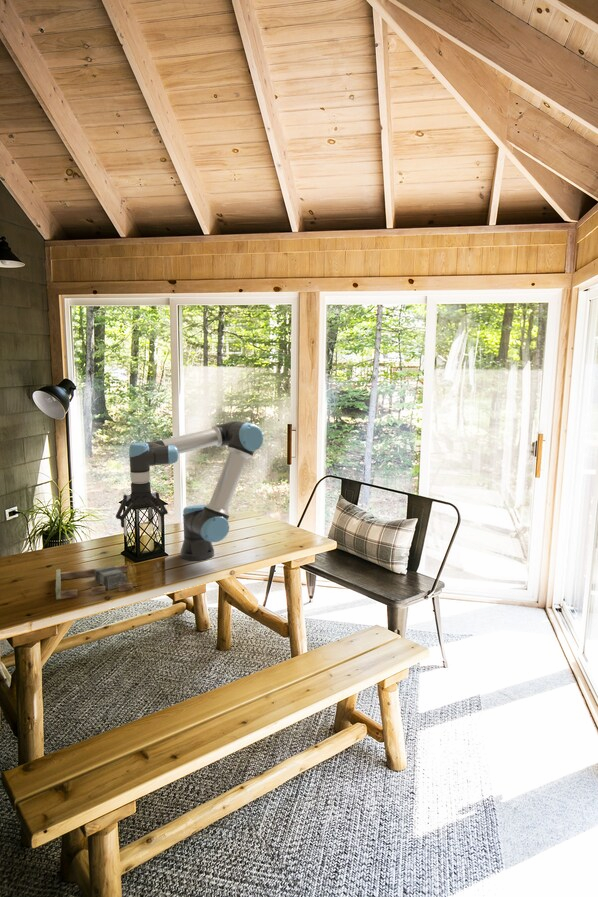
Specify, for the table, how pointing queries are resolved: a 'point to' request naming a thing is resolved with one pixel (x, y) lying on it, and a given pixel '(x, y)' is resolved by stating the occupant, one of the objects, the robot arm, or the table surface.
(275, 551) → the table surface
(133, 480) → the robot arm
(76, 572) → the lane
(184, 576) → the table surface
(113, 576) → the stone block
